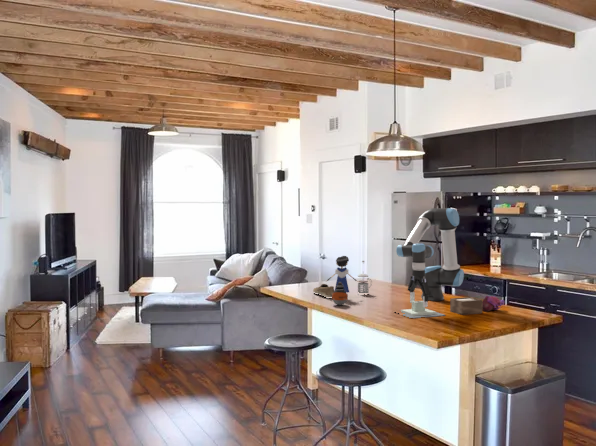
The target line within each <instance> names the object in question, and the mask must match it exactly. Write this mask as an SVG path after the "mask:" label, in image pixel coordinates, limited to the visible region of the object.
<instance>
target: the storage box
mask: <svg viewBox="0 0 596 446" xmlns="http://www.w3.org/2000/svg"><path fill="white" fill-rule="evenodd" d="M483 300H484V299H480V298H476V297H472V296H469V297H454V298H450V301H449V302H450V303H449V304H450V307H449V311H450V313H454V314H458V315H460V316H467V315H468V316H469V315H477V314H483V308H482V305H483Z"/></svg>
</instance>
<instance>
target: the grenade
mask: <svg viewBox="0 0 596 446" xmlns="http://www.w3.org/2000/svg"><path fill="white" fill-rule="evenodd" d="M343 286H344V285H342V282H338V285H337V286H336V285H335V287H336V290H335V289H334V293H333V294H332V299H331V300H332V302H333V303H334V304H335V305H336V304H337V306H343V305H345V304H346V303H347V301H348V296H349V294H348V292H347V291H346V292H345V291H344V290H343V289H344V288H345V287H343ZM345 290H346V289H345ZM342 304H343V305H342Z"/></svg>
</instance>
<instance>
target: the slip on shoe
mask: <svg viewBox="0 0 596 446" xmlns="http://www.w3.org/2000/svg"><path fill="white" fill-rule="evenodd" d="M312 291H313V292H315V293H318V294H321V295H322V296H325V297H332V294H333V293H334V291H335V286H332V285H331V286H330V285H329V284H327V283H322V284H320V286H317V287H314V288H313V290H312ZM313 292H312V293H313ZM322 296H321V297H322Z"/></svg>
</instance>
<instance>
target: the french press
mask: <svg viewBox="0 0 596 446" xmlns="http://www.w3.org/2000/svg"><path fill="white" fill-rule="evenodd" d="M361 263H365V260H362V261H361ZM357 277H359V278H366V279H367V280H357V281H358V282H357V293H358V292H359V293H369V289H370V288H371V287H372V286H373V285H372V284H373V281H372V279H371V278H370V277H369V275H368V274H366V273H364V272H362V273H359V274H358V275H357ZM368 280H369V281H368ZM369 282H370V283H369ZM369 284H370V285H369Z"/></svg>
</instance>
